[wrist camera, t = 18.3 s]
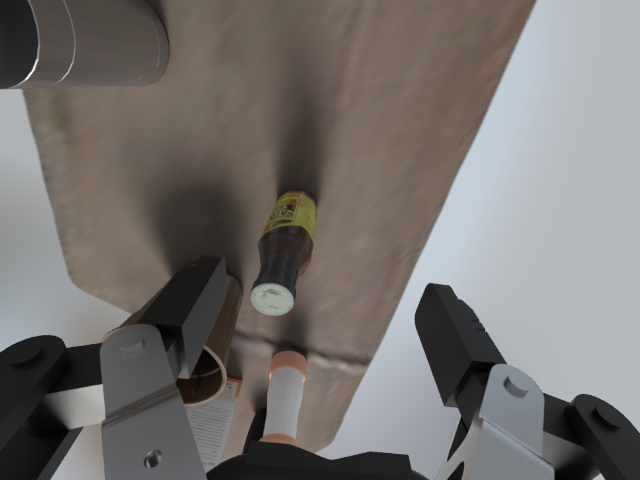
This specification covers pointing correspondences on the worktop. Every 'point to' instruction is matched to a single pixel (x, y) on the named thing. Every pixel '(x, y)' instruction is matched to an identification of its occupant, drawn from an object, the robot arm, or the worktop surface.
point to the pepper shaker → (284, 397)
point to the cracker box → (214, 423)
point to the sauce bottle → (284, 252)
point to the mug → (256, 429)
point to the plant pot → (205, 348)
